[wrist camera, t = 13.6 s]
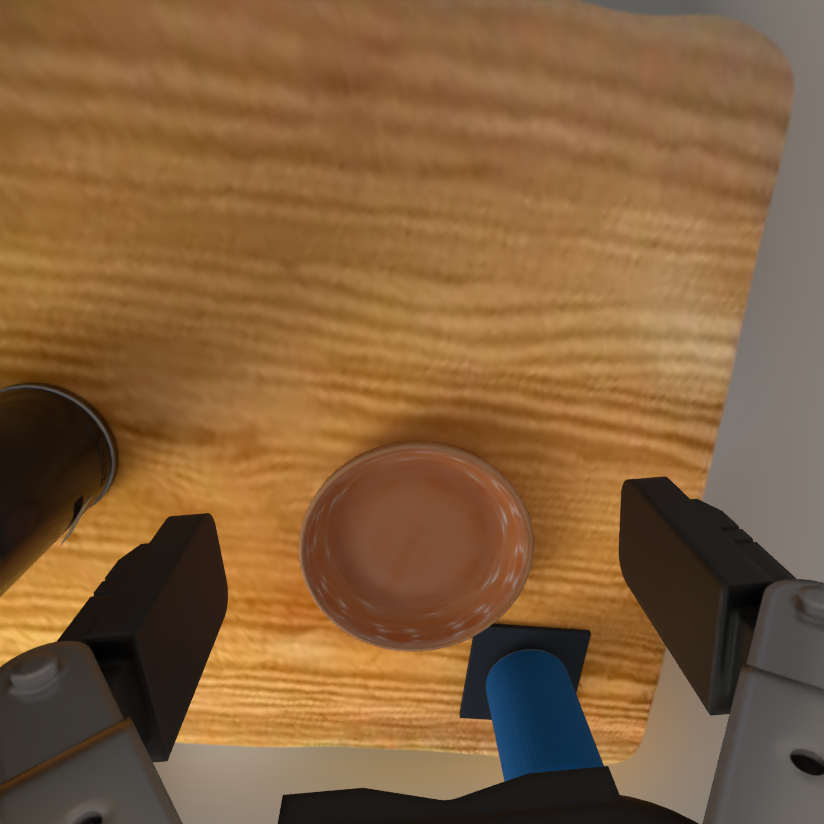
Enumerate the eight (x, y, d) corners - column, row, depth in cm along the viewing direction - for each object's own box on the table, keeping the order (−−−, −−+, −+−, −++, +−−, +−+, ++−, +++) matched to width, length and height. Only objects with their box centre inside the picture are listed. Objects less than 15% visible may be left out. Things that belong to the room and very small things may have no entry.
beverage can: (493, 715, 49) (525, 870, 37) (476, 652, 47) (505, 796, 35) (571, 698, 48) (627, 848, 37) (558, 634, 46) (613, 772, 35)
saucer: (320, 411, 40) (315, 427, 37) (550, 450, 42) (561, 468, 39) (290, 610, 45) (283, 637, 42) (496, 638, 47) (503, 666, 44)
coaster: (459, 714, 49) (459, 718, 49) (475, 622, 46) (476, 625, 46) (567, 720, 50) (568, 724, 49) (589, 630, 47) (591, 633, 46)
